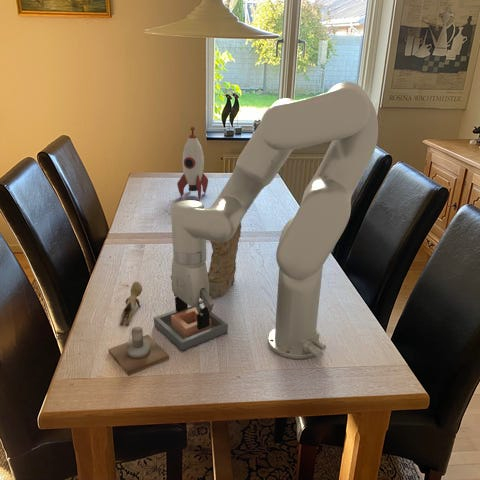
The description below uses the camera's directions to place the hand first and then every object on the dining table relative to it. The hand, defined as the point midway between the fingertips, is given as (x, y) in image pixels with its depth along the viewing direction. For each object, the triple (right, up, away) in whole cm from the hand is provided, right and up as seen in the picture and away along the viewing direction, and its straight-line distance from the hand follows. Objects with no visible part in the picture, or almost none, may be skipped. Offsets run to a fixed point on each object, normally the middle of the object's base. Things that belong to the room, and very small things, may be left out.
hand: (192, 318), depth 120 cm
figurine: (-17, 0, +9) cm, 19 cm away
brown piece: (-11, -7, -8) cm, 16 cm away
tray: (-1, -3, +1) cm, 3 cm away
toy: (-9, +38, +97) cm, 105 cm away
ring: (0, -3, +1) cm, 3 cm away
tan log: (+7, +4, +18) cm, 20 cm away
